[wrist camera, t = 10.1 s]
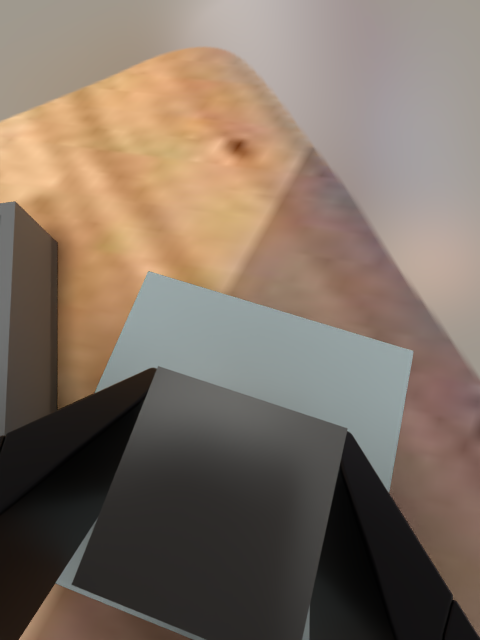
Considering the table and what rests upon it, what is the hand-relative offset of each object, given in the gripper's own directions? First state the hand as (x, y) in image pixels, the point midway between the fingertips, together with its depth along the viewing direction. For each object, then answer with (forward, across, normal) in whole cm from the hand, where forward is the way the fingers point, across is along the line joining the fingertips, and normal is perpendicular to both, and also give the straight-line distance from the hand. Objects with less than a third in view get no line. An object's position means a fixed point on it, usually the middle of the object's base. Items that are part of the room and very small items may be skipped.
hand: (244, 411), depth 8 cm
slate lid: (+4, 0, +6) cm, 8 cm away
